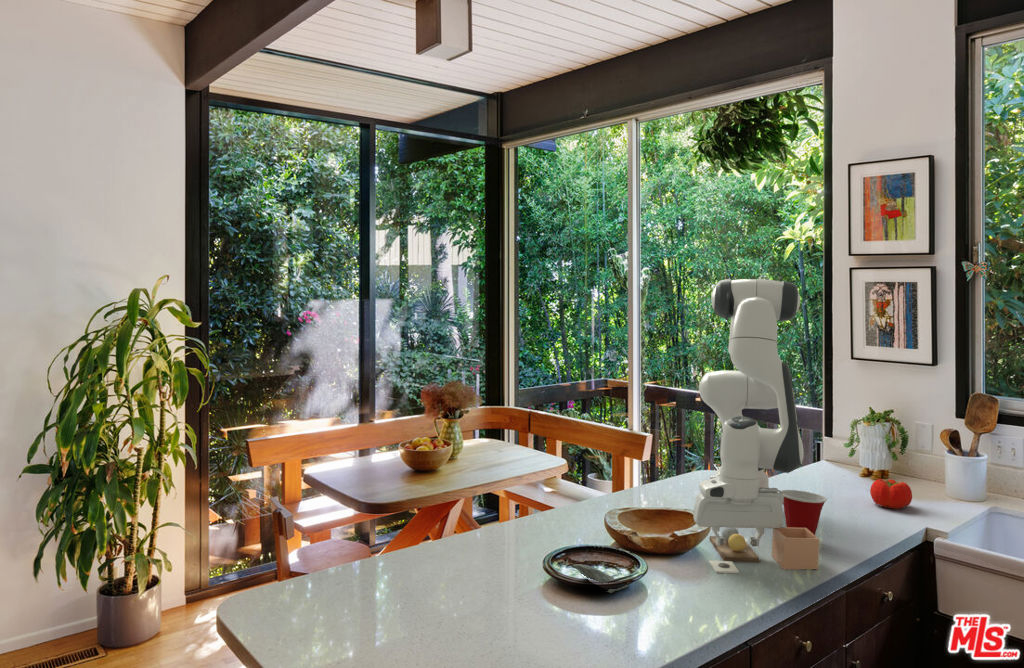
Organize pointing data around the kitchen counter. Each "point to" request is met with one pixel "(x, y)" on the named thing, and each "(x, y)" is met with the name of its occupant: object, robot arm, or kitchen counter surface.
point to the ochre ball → (737, 542)
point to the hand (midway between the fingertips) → (737, 545)
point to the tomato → (891, 493)
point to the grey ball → (728, 532)
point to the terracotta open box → (795, 548)
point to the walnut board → (734, 552)
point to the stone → (595, 575)
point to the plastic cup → (802, 509)
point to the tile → (724, 567)
